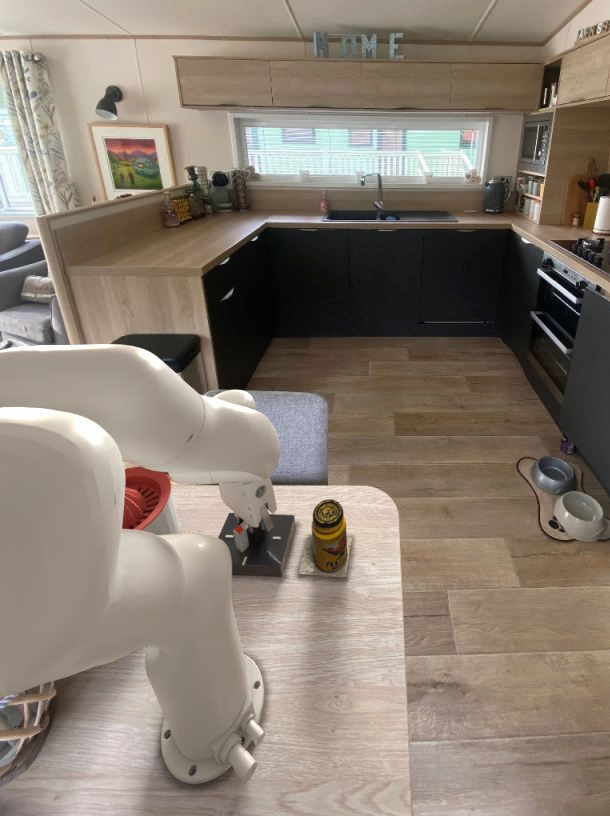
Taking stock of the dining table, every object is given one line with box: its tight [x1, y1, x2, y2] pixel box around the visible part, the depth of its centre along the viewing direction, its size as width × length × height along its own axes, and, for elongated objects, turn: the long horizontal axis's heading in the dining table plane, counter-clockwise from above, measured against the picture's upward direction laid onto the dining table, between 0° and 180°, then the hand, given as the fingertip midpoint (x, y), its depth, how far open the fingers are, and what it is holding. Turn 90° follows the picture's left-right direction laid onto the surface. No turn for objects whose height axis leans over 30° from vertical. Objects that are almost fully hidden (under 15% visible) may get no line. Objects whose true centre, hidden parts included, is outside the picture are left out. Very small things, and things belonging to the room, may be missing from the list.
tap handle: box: [233, 521, 250, 552], centre depth 71 cm, size 6×2×5 cm, turn 145°
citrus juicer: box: [122, 466, 182, 535], centre depth 64 cm, size 16×17×20 cm
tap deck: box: [217, 512, 297, 578], centre depth 72 cm, size 13×10×3 cm
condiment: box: [298, 498, 353, 578], centre depth 69 cm, size 7×8×12 cm
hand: (253, 536), depth 72 cm, fingers closed on tap handle
